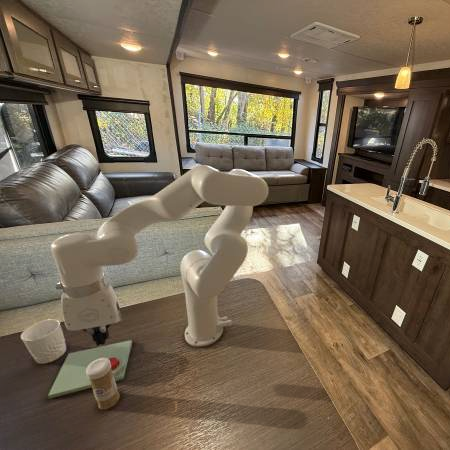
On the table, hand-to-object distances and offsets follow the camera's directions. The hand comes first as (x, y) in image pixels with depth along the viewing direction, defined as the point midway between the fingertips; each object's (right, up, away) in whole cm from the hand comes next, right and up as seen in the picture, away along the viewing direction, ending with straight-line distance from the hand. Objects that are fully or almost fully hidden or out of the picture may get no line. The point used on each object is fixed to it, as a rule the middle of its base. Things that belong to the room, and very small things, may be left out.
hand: (102, 340), depth 66 cm
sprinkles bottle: (+3, -15, -2) cm, 16 cm away
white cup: (-22, -8, +9) cm, 25 cm away
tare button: (-1, -9, +4) cm, 10 cm away
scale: (-7, -11, +6) cm, 14 cm away
